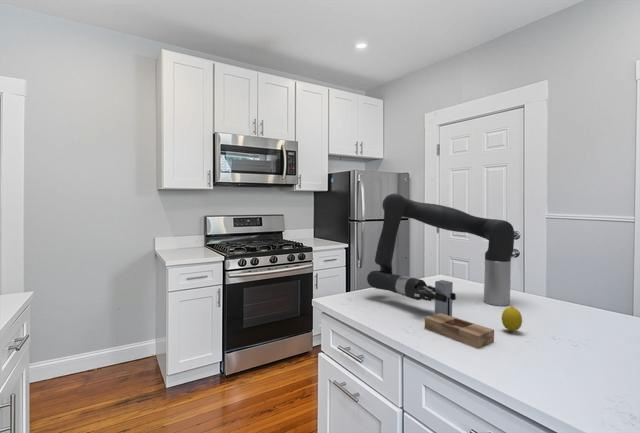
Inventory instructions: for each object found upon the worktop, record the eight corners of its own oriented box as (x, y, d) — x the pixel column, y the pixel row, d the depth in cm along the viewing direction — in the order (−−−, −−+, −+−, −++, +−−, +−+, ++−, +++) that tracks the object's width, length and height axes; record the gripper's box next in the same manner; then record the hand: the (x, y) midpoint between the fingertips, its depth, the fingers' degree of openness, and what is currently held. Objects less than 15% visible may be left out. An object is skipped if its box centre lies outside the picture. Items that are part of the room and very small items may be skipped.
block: (441, 313, 120) (442, 279, 119) (452, 316, 116) (452, 282, 116) (434, 315, 117) (435, 281, 117) (444, 319, 114) (445, 283, 114)
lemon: (524, 336, 103) (525, 309, 102) (504, 334, 104) (505, 308, 103) (517, 329, 108) (518, 304, 108) (498, 328, 109) (499, 303, 109)
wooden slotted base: (440, 323, 113) (440, 312, 113) (493, 341, 98) (494, 329, 98) (424, 328, 108) (424, 317, 108) (478, 348, 94) (478, 335, 94)
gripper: (397, 280, 124) (437, 290, 110) (423, 275, 132) (463, 284, 118) (397, 300, 124) (437, 313, 110) (422, 294, 133) (463, 305, 118)
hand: (450, 298), depth 114 cm, fingers closed on block, 4 cm apart
